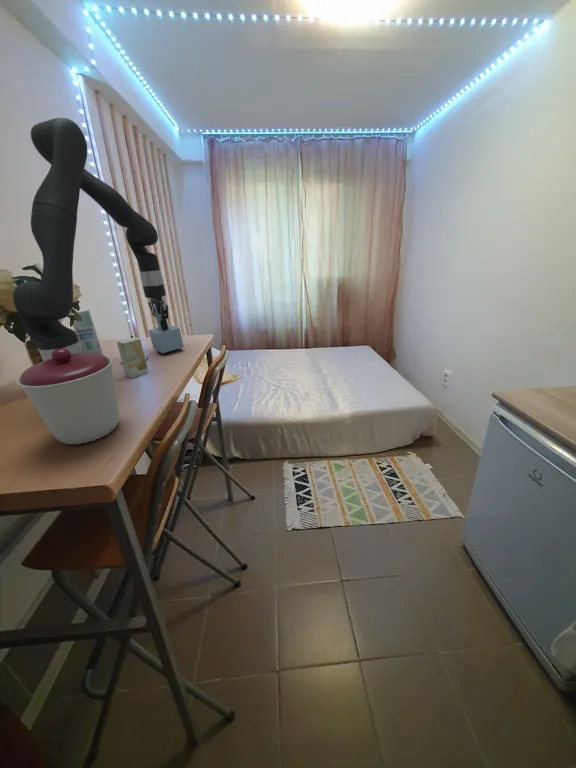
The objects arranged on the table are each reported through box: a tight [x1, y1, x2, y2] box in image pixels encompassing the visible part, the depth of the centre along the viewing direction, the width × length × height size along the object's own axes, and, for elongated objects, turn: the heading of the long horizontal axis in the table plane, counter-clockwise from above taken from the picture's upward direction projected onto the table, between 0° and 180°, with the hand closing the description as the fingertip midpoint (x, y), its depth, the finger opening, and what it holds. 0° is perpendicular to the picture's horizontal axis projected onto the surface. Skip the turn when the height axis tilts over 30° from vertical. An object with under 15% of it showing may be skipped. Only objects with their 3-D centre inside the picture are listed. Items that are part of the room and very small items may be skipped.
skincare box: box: [116, 336, 149, 379], centre depth 106 cm, size 6×4×12 cm
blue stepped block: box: [148, 315, 185, 354], centre depth 126 cm, size 9×9×13 cm
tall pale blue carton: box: [72, 308, 104, 355], centre depth 118 cm, size 6×6×20 cm
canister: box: [14, 348, 120, 445], centre depth 72 cm, size 18×18×21 cm
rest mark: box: [120, 355, 149, 366], centre depth 121 cm, size 10×10×1 cm
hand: (163, 328), depth 125 cm, fingers closed on blue stepped block, 3 cm apart
